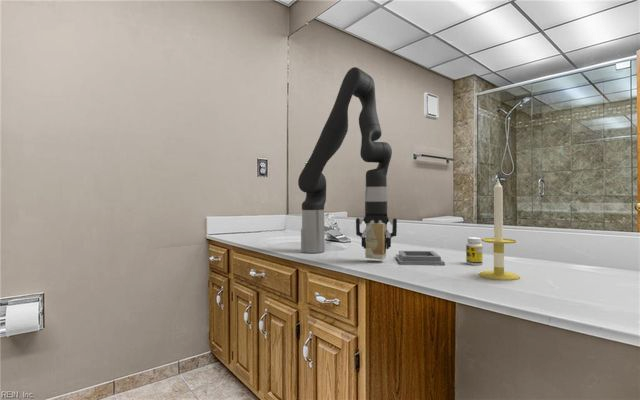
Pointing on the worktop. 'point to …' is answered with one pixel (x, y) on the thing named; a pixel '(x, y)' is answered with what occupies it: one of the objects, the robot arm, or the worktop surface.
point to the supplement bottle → (474, 251)
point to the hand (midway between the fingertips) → (376, 248)
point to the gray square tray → (419, 258)
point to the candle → (498, 240)
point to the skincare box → (376, 241)
